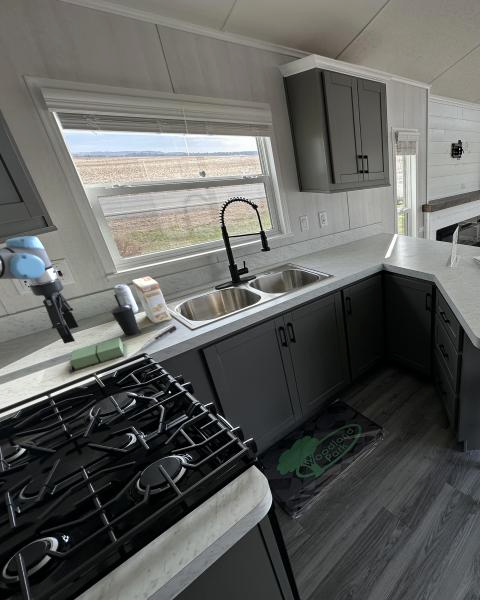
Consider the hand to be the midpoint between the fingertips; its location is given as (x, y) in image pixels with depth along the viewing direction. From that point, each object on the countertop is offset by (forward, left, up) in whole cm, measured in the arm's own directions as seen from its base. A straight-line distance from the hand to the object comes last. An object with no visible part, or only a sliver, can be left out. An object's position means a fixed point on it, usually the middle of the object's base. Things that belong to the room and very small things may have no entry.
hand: (72, 334), depth 122 cm
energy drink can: (+15, +44, -14) cm, 49 cm away
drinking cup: (+15, +15, -14) cm, 25 cm away
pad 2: (+8, 0, -12) cm, 15 cm away
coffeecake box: (+25, +28, -14) cm, 40 cm away
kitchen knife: (+24, +2, -14) cm, 27 cm away
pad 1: (0, 0, -12) cm, 12 cm away
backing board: (+4, 0, -13) cm, 14 cm away
